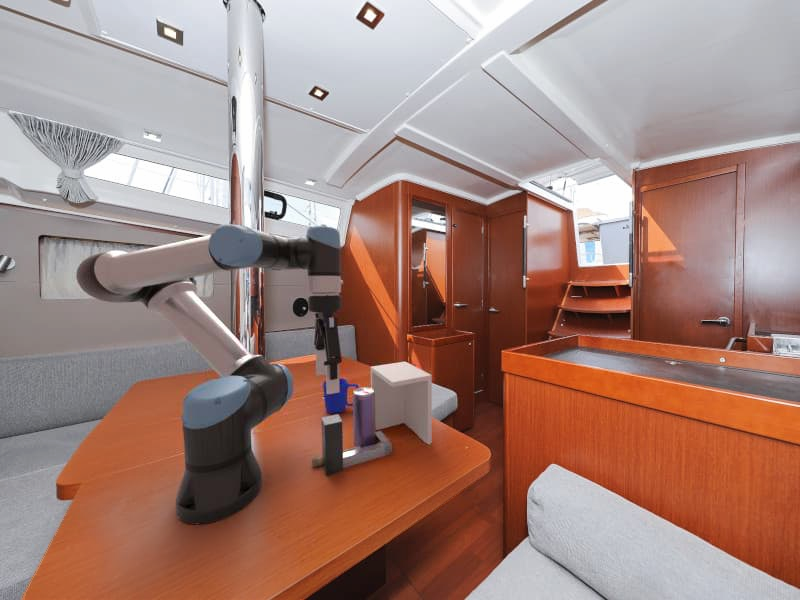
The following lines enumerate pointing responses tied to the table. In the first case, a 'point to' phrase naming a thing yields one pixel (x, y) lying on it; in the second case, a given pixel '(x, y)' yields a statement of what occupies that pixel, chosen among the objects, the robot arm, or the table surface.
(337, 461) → the grey angled piece
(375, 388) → the corner shelf
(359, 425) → the beverage can
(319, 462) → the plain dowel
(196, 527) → the table surface
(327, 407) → the mug
